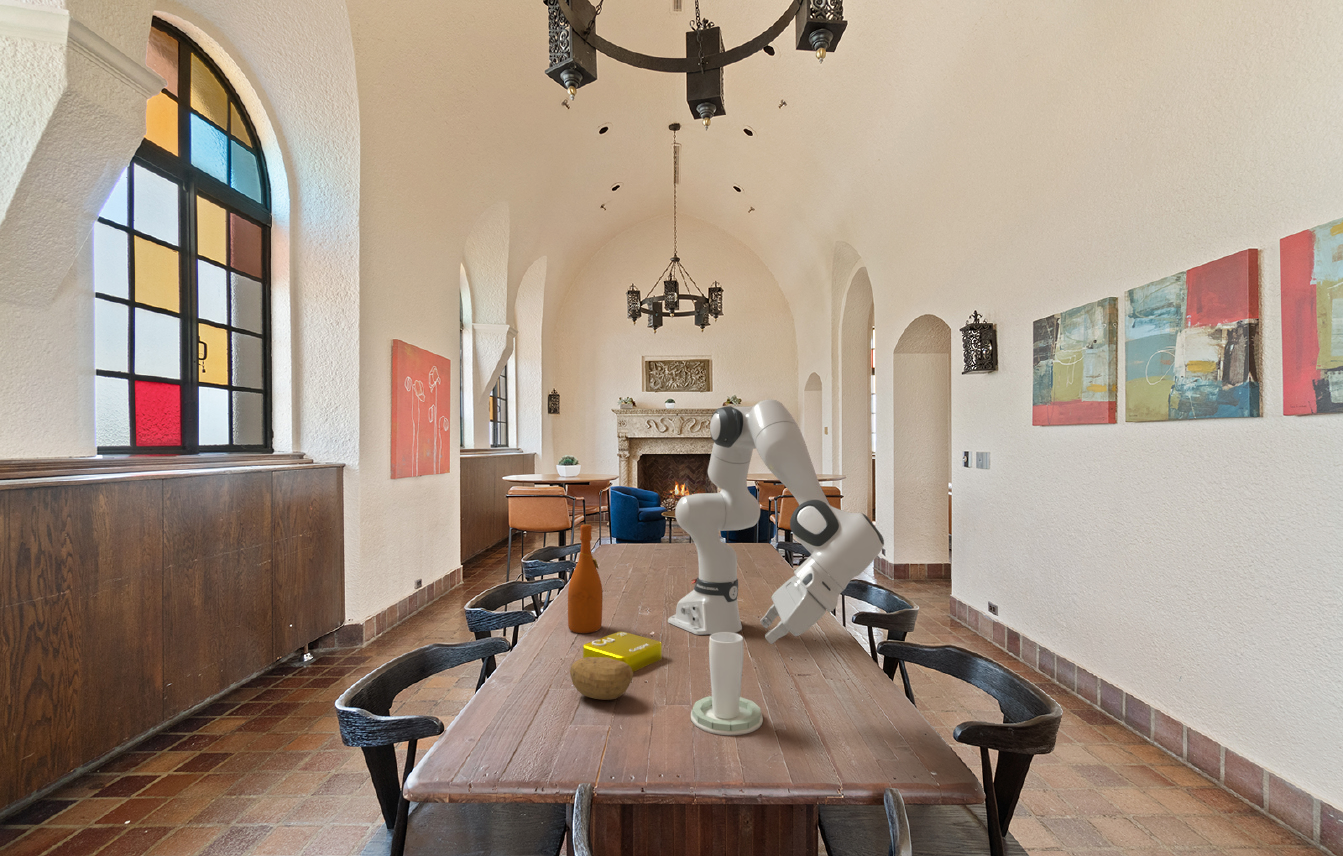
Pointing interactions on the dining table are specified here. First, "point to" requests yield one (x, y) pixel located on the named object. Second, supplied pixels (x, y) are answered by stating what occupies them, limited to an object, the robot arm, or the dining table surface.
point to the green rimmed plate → (739, 725)
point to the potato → (601, 677)
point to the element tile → (625, 649)
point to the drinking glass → (726, 673)
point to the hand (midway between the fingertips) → (765, 632)
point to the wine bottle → (585, 590)
